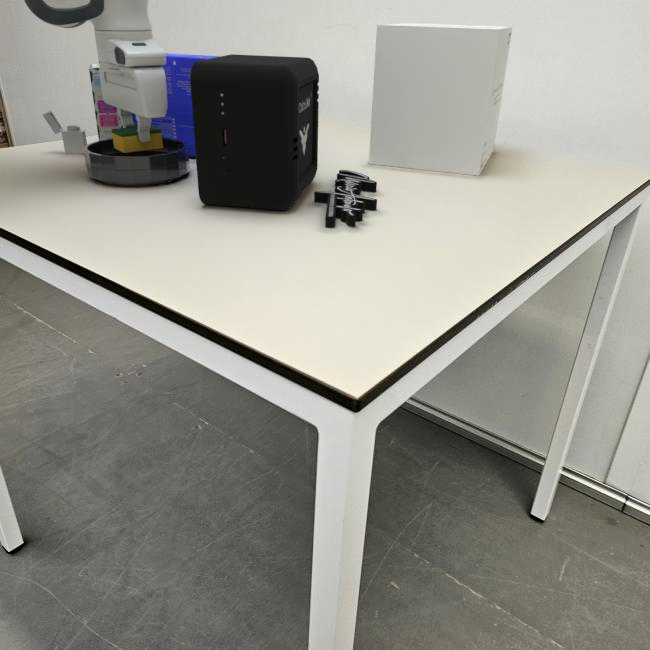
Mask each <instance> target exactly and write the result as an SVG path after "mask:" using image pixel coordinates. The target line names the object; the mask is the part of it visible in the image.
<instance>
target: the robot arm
mask: <svg viewBox="0 0 650 650" xmlns="http://www.w3.org/2000/svg"><path fill="white" fill-rule="evenodd" d="M23 1H24V3H25V5H26V6H27V8H28V9H29V11H30V12H31V13H32V14H33V15H34V16H35V17H36V18H38V19H39V20H41V21H42V22H43V23H46V24H47V25H50V26H54V27H58V28H63V29H74V28H79V27H81V26H83V25H84V24H85V23H87V22H90V23H91V24H92V25H93V30H94V38H95V39H94V40H95V45H96V51H97V59H98V64H99V72H100V83H101V92H102V97H103V100H104V102H105V103H106V104H108V105H111V106H114V107H117V109H118V115H119V117H120V120H121V122H122V125H123V128H128V127H136V125H134V122H133V118H132V113H134V114H135V115H136V120H137V121H138V130H136V134H137V139H138V140H139V141H141V142H148V141H150V131H149V130H150V126H151V121H152V119H151V118H158V117H164V116H165V115H166V113H167V108H168V101H167V85H166V76H165V72H164V69H163V67H162V66H161V65H166V53H167V52H166V51H165V49H163V48H162V47H161V46H160V45H159V44H158V42H157V41H156V39H155V38H154V35H153V27H152V24H151V21H150V19H149V12H148V8H149V7H148V6H149V0H23ZM99 62H100V63H99Z"/></svg>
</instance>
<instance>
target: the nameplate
mask: <svg viewBox="0 0 650 650" xmlns="http://www.w3.org/2000/svg"><path fill="white" fill-rule="evenodd" d="M377 186H378V182H377V181H375V180H373V179H370V177H369V176H368V175H366V174H364V173H360V172H357V171H353V170H349V169H339V171H338V173H336V179H335V180H334V191H324V190H317V191H314V192H313V196H314V197H313V201H314V203H322V204H326V211H325V223H324V224H325V228H328V229H331V228H332V229H333V228H335V227H336V219H339V220H340V222H343V223H345V224H346V225H347V226H348V227H352V228H353V227H356V226H357V225H356V222H362V221H363V218H364V214H365V212H366V210H367V211H377V207H378V206H377V205H378V199H377V198H373V197H368V196H364V195H361V193H362V192H367V193H377V188H378V187H377Z"/></svg>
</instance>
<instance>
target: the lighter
mask: <svg viewBox="0 0 650 650" xmlns="http://www.w3.org/2000/svg"><path fill="white" fill-rule="evenodd" d="M42 117H43V118H44V120H45V121H46V123H47V124H48V126H49V127H50V129H51V130H52V132H53V134H55V135H57V134H60V133H61V137H62V138H61V139H62V142H63V143H62V144H63V148H64V153H65V155H79V154H80V155H84V146H86V145H88V141H87V140H88V139H87V135H86V130H85V129H81V127H80V126H79V125H77V124H68V125H66V129H64V128H63V126H62V125H61V123H60V122H59V120H58V119H57V118H56V116H55V114H54V113H53V111H52V110H48V111H46V112H44V113H42Z"/></svg>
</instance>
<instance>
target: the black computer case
mask: <svg viewBox="0 0 650 650" xmlns="http://www.w3.org/2000/svg"><path fill="white" fill-rule="evenodd" d="M220 56H221V57H216V58H211V59H206V60H201V61H196V62H195V63H194V64H193V66H192V69H191V75H190V83H191V97H192V110H193V124H194V137H195V151H196V158H195V162H196V165H195V166H196V176H197V177H196V178H197V190H198V198H199V200H200V202H201V203H202V204H203V205H213V206H225V207H234V208H235V207H236V208H247V209H248V208H249V209H260V210H273V211H288V210H289V209H291V208H292V207H293V206H294V204H296V202H297V201H298V200H299V198H300V197H301V195H303V193H305V191H306V190H307V188H309V186H310V185H311V184H312V182H313V180H314V179H315V178H316V175H317V171H318V167H319V163H318V161H319V155H318V153H319V107H320V106H319V105H320V104H319V103H320V102H319V101H318V100H319V98H320V97H319V95H320V93H318V92H319V90H320V86H319V83H320V74H319V69H318V67H317V64H316V62H315V61H314V60H313V59H312V58H310V57H304V56H303V57H302V56H281V55H280V56H279V55H258V54H257V55H256V54H255V55H253V54H234V53H233V54H232V53H231V54H226V55H220Z"/></svg>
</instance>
